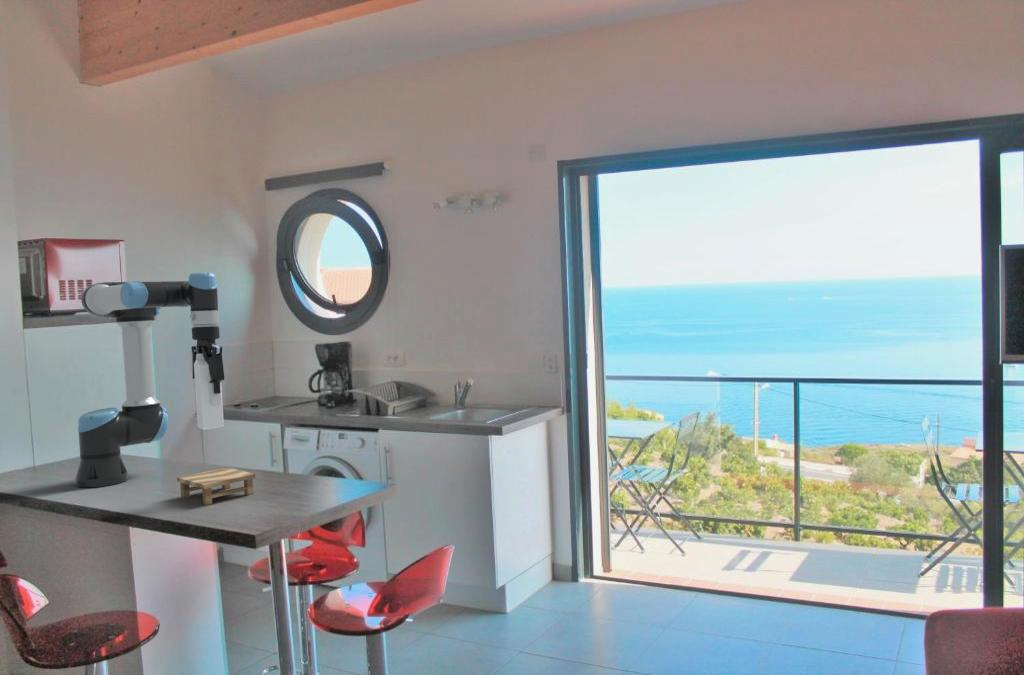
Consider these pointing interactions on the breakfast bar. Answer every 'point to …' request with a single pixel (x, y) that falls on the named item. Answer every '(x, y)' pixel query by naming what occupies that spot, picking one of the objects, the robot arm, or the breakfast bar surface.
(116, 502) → the breakfast bar surface
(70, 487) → the breakfast bar surface
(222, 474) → the light brown square platform
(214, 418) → the milk
